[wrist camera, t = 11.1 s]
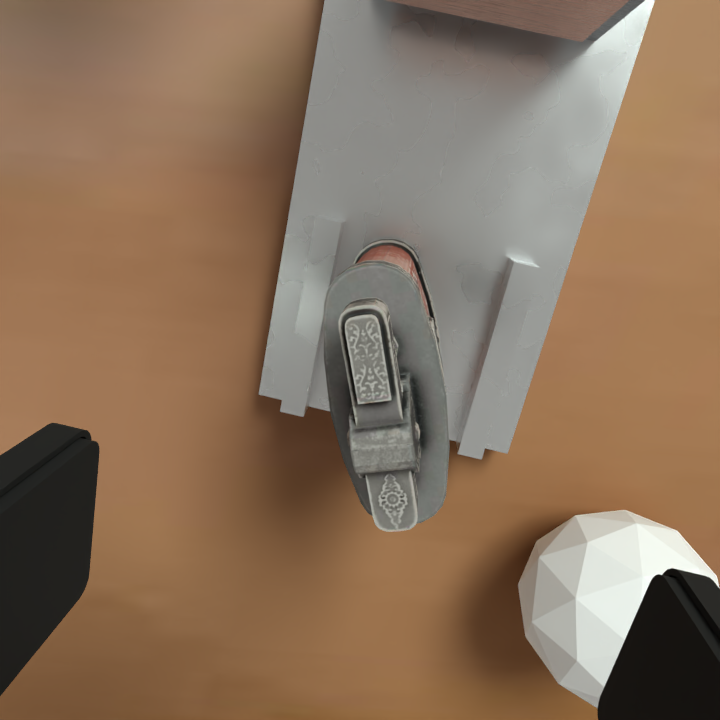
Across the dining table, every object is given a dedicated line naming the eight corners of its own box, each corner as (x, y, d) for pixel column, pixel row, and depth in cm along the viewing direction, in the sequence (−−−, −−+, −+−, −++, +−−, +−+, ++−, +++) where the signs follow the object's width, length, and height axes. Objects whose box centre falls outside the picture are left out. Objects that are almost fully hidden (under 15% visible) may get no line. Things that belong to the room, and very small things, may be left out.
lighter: (451, 422, 24) (469, 575, 15) (372, 431, 25) (342, 584, 15) (425, 231, 22) (428, 267, 13) (340, 245, 23) (281, 289, 13)
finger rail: (502, 438, 26) (553, 598, 16) (267, 382, 26) (173, 504, 16) (666, -75, 20) (914, -336, 10) (356, -138, 20) (293, -450, 10)
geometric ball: (537, 533, 30) (450, 606, 25) (657, 452, 25) (583, 521, 20) (642, 668, 28) (571, 785, 22) (798, 608, 23) (759, 739, 17)
